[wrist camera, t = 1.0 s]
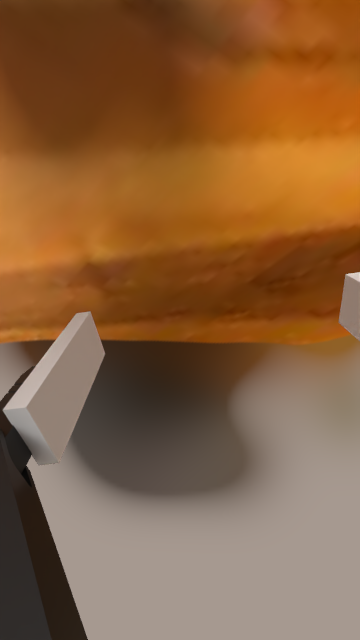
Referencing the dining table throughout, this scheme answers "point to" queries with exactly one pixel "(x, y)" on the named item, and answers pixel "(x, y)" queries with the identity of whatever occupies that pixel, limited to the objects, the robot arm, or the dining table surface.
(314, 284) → the dining table surface
